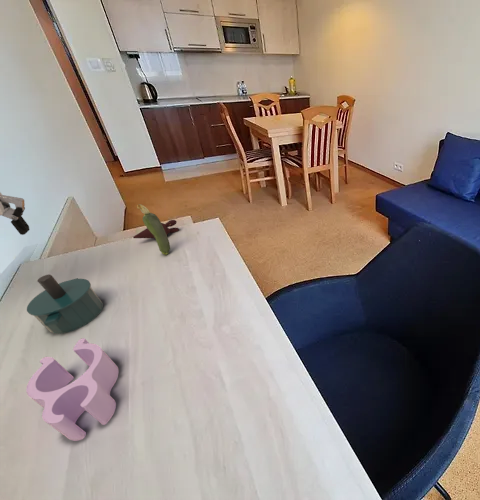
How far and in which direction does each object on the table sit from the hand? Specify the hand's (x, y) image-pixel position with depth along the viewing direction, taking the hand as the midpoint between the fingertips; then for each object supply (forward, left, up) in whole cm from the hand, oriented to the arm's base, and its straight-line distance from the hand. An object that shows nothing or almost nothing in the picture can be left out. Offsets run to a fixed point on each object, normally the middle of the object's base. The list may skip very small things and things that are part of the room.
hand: (2, 236), depth 76 cm
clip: (+17, -39, -23) cm, 49 cm away
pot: (+7, -10, -23) cm, 26 cm away
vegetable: (+29, +11, -23) cm, 39 cm away
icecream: (+25, +25, -23) cm, 42 cm away
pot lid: (+7, -10, -16) cm, 20 cm away
